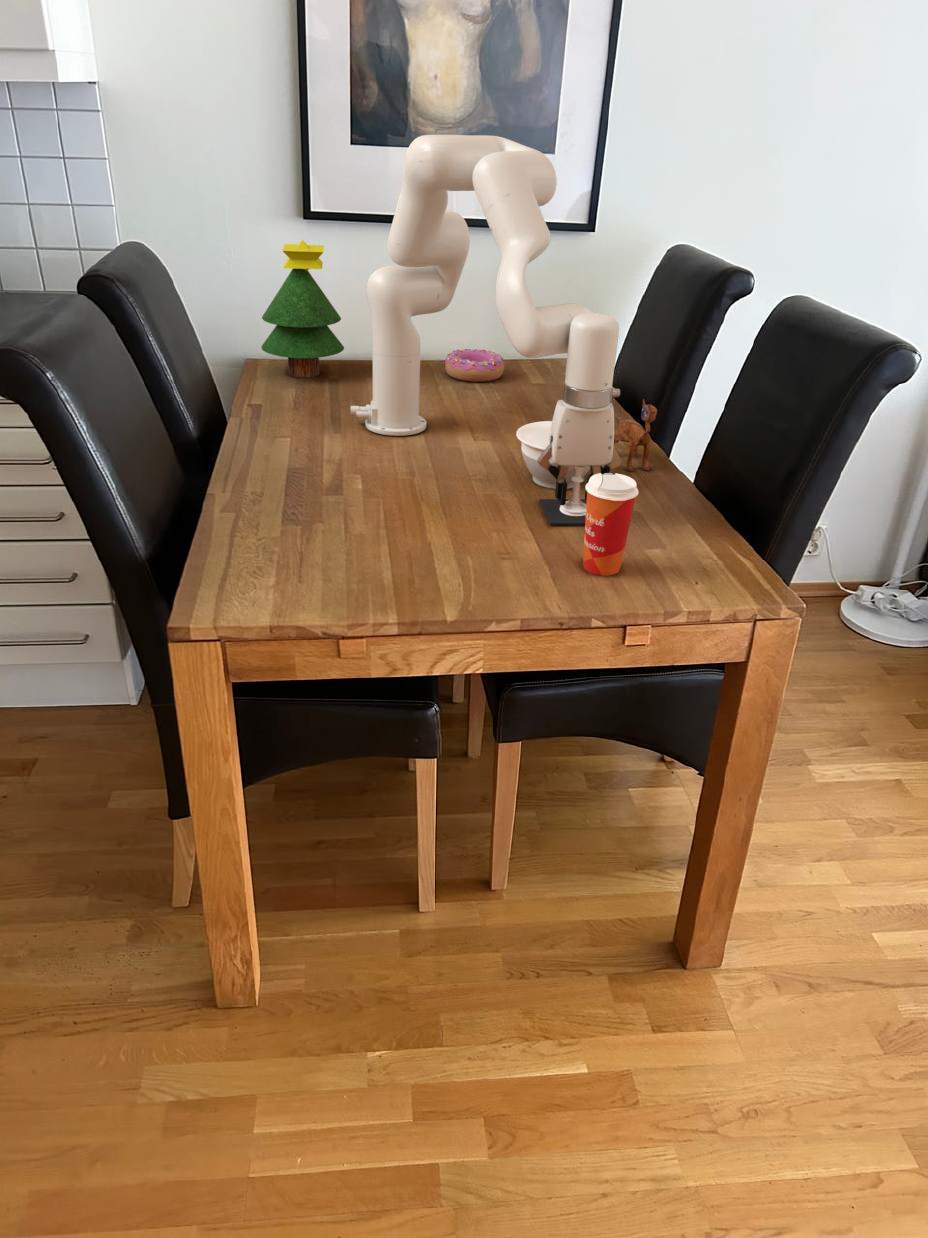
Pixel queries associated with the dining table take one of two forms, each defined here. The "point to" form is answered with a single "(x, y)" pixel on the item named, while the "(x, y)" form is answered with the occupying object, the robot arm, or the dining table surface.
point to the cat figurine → (637, 435)
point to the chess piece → (575, 496)
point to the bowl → (534, 446)
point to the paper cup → (607, 521)
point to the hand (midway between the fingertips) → (574, 501)
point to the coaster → (560, 514)
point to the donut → (474, 365)
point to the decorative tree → (302, 315)
